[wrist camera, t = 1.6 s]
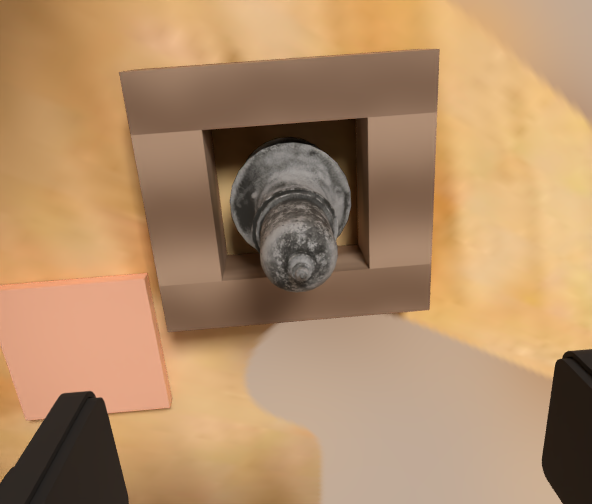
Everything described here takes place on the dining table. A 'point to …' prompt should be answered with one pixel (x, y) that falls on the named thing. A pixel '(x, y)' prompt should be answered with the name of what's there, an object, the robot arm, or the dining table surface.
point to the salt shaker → (292, 211)
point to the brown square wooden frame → (282, 110)
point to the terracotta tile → (84, 343)
